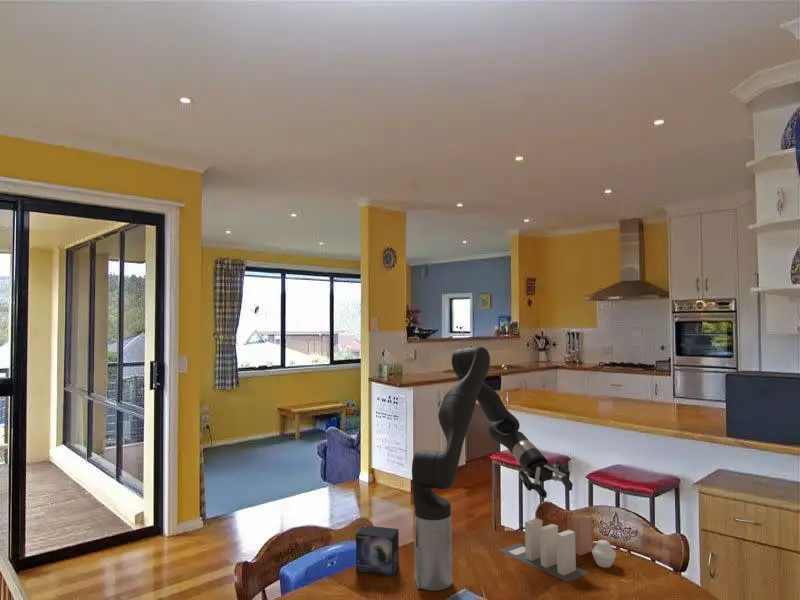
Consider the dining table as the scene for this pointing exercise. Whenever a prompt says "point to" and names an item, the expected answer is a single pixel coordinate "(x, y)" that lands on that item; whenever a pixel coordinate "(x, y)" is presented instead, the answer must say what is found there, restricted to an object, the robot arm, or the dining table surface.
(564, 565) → the ivory domino
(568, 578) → the domino mat
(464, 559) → the dining table surface
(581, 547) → the terracotta domino
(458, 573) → the dining table surface
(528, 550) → the ivory domino
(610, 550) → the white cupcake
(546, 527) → the ivory domino
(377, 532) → the small box
